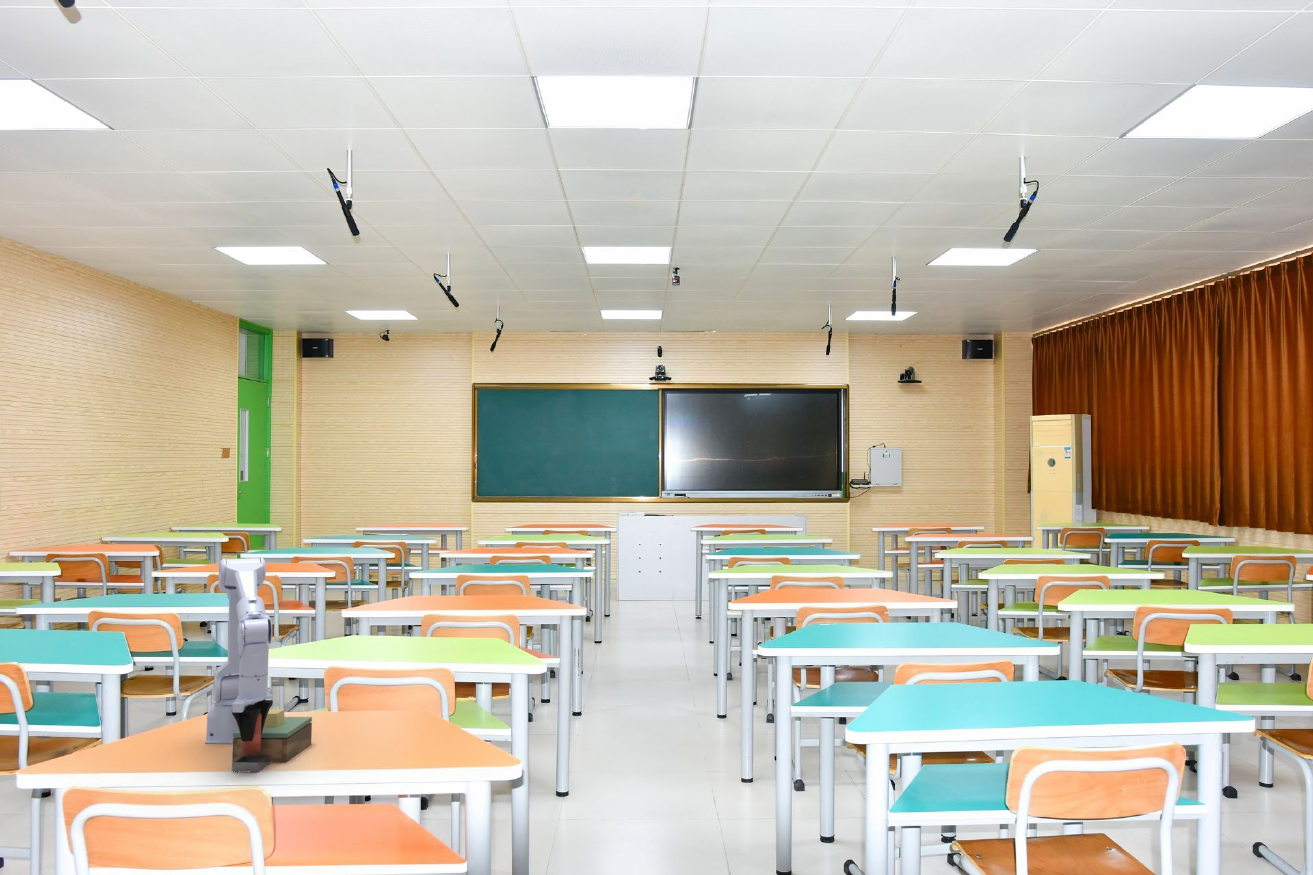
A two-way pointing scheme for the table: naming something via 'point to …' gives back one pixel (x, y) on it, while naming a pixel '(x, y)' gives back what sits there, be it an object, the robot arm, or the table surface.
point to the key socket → (251, 763)
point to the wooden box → (278, 745)
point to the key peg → (255, 744)
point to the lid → (280, 725)
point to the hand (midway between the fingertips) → (251, 737)
